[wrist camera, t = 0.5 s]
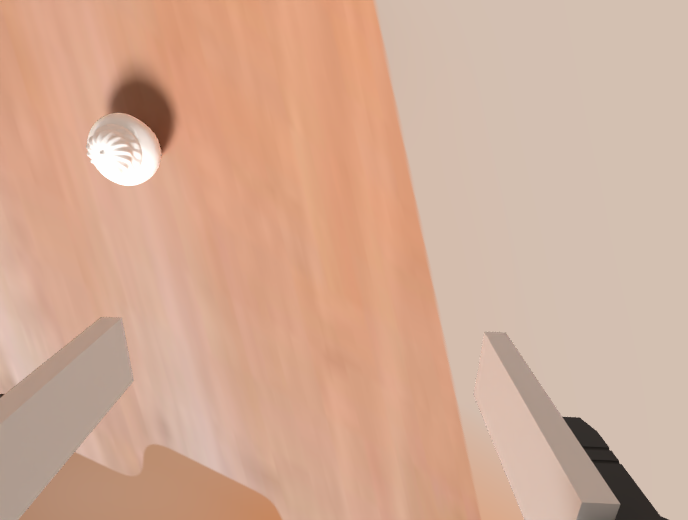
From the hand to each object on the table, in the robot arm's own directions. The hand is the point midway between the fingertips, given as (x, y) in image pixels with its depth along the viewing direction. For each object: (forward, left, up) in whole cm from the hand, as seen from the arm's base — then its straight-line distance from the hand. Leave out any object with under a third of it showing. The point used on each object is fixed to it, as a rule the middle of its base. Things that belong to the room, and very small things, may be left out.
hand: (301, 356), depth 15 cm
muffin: (-5, -19, -27) cm, 33 cm away
